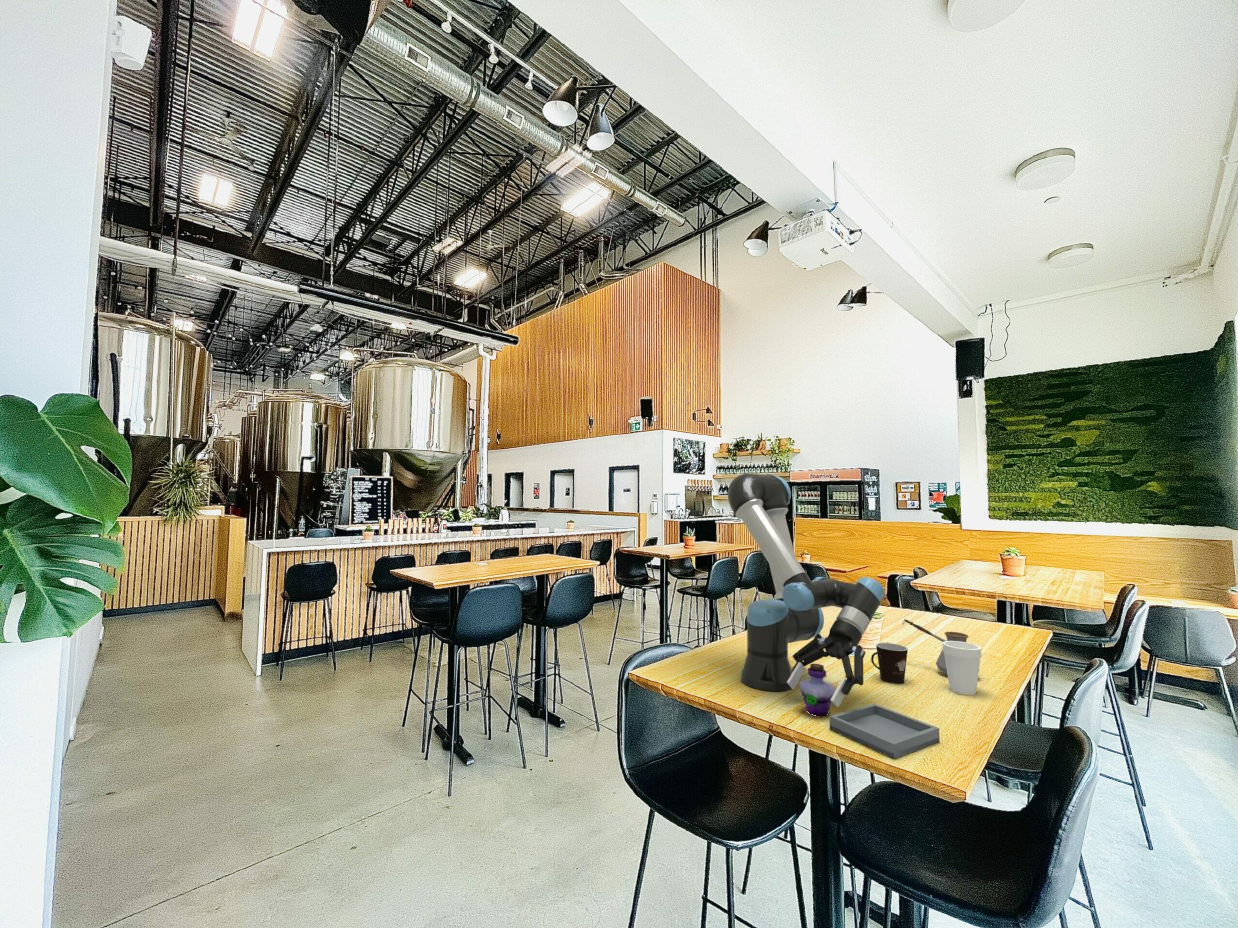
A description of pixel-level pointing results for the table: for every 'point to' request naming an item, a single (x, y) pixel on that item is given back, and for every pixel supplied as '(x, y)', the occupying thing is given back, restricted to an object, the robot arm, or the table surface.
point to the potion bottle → (817, 691)
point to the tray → (884, 730)
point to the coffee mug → (891, 662)
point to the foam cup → (962, 666)
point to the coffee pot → (950, 637)
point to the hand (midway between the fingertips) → (811, 694)
